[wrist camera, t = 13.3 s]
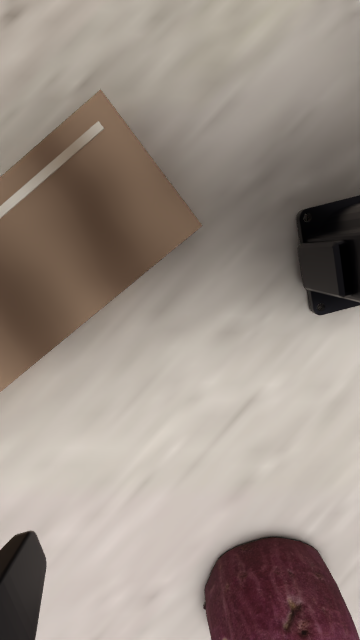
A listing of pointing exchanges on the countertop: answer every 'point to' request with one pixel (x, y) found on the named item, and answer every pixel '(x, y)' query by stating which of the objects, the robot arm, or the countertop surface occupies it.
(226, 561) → the vegetable
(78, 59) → the countertop surface
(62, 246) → the board
